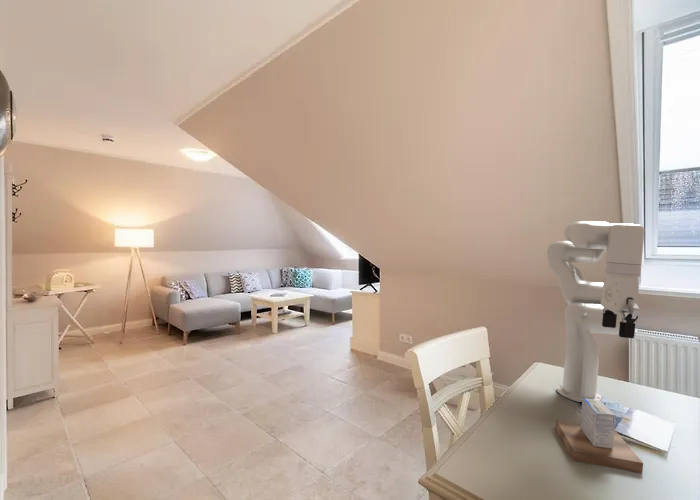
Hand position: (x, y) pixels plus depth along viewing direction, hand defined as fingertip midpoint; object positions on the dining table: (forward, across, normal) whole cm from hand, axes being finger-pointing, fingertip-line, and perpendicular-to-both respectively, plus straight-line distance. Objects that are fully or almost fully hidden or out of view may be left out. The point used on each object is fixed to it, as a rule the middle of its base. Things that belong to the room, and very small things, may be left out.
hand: (617, 332), depth 94 cm
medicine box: (+26, +10, -7) cm, 29 cm away
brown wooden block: (+28, +10, -7) cm, 31 cm away
